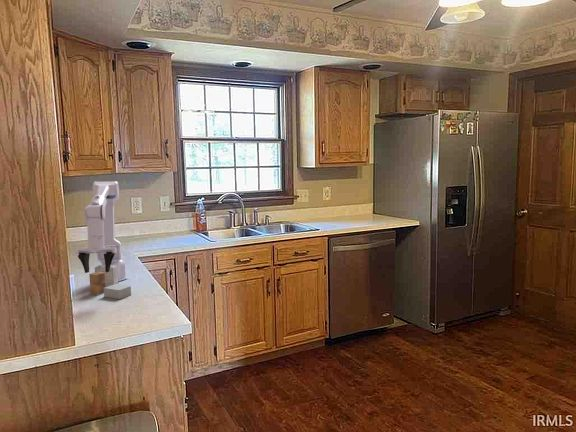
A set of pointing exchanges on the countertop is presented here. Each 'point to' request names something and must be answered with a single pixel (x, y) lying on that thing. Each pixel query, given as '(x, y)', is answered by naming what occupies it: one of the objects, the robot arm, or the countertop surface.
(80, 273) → the countertop surface
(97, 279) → the oak column
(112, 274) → the medicine box
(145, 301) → the countertop surface
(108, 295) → the light grey riser
